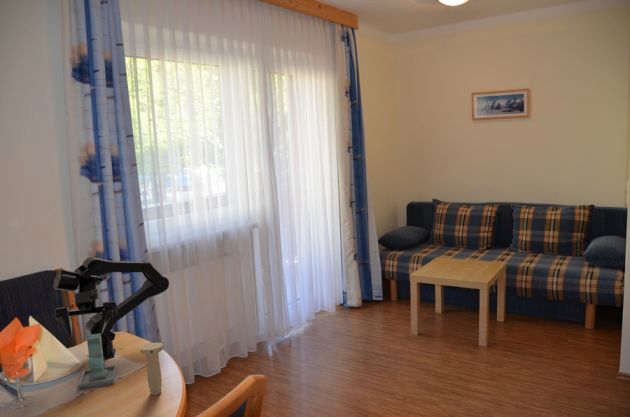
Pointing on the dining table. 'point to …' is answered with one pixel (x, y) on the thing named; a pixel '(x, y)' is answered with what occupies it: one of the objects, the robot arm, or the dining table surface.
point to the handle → (153, 366)
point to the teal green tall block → (96, 358)
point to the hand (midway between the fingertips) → (86, 335)
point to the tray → (109, 380)
